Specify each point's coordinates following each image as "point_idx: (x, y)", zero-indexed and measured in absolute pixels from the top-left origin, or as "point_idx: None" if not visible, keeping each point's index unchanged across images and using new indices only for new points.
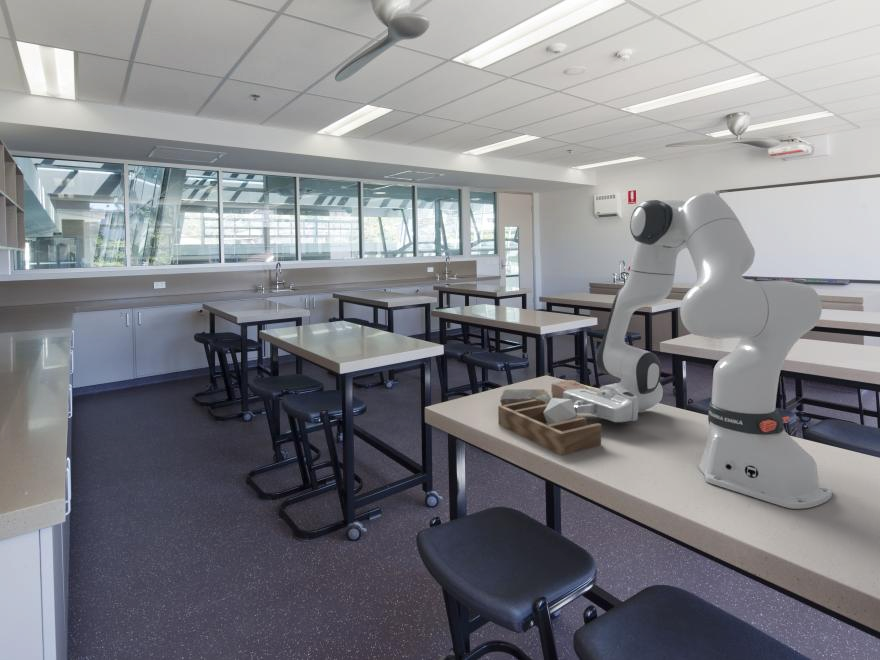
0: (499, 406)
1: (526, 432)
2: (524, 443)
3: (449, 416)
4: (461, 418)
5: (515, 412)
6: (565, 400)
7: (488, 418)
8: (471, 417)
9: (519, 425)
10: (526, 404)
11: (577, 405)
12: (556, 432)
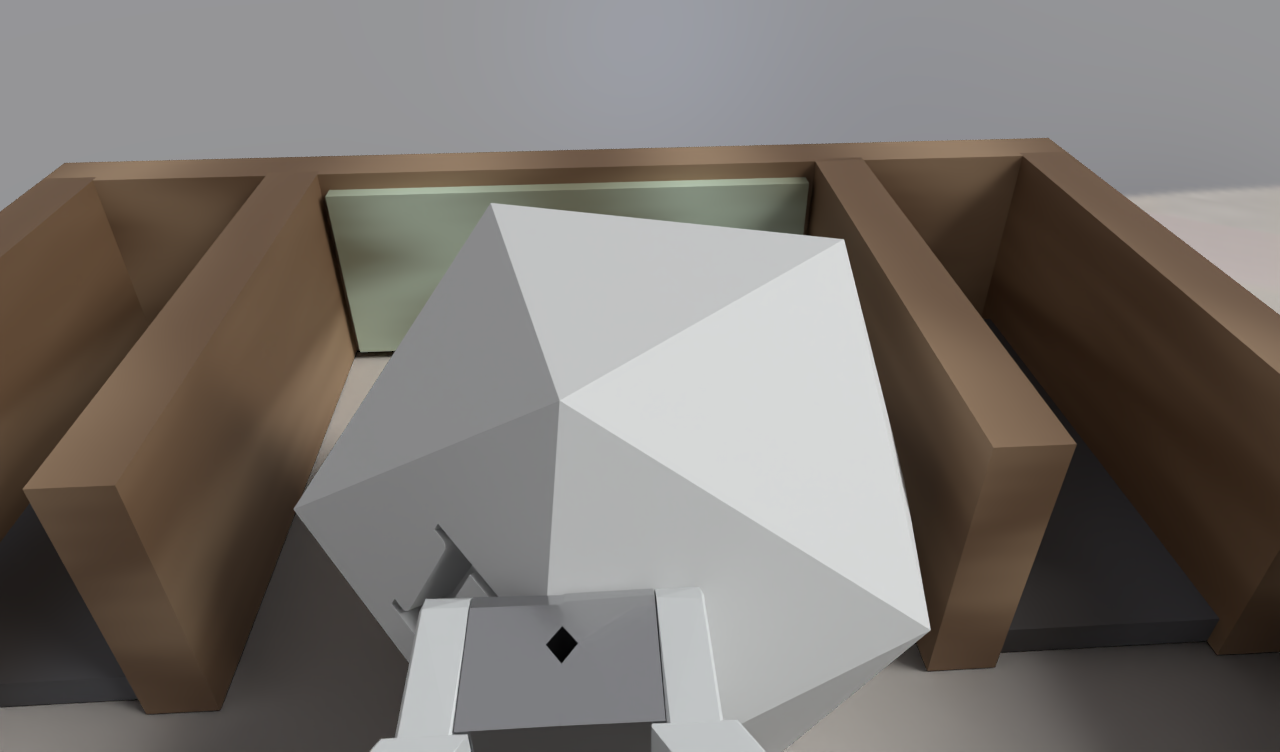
0: (1035, 139)
1: None
2: None
3: (1251, 189)
4: (1197, 213)
5: (796, 153)
6: (567, 300)
7: None
8: (1226, 250)
9: None
10: (1180, 327)
11: (520, 653)
12: (134, 167)
